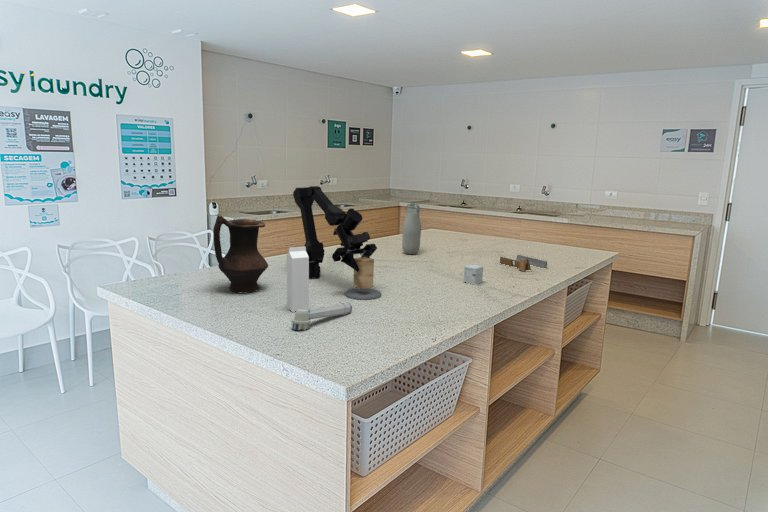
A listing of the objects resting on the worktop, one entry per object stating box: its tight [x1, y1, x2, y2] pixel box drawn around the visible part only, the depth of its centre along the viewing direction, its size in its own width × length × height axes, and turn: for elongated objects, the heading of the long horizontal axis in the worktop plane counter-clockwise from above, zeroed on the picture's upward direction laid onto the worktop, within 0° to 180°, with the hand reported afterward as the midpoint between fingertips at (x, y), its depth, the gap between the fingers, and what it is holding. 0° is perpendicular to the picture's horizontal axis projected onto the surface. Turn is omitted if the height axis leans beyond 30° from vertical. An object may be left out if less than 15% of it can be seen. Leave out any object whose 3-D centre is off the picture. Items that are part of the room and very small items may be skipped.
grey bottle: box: [401, 202, 422, 255], centre depth 280 cm, size 10×10×28 cm
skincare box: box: [463, 264, 484, 285], centre depth 222 cm, size 6×6×7 cm
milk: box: [285, 245, 310, 313], centre depth 176 cm, size 6×6×22 cm
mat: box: [344, 287, 382, 301], centre depth 198 cm, size 14×14×1 cm
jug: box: [212, 214, 269, 293], centre depth 197 cm, size 21×18×30 cm
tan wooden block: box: [353, 256, 375, 289], centre depth 197 cm, size 5×5×11 cm
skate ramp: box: [499, 253, 548, 272], centre depth 256 cm, size 29×35×8 cm
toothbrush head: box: [291, 301, 353, 331], centre depth 166 cm, size 5×7×25 cm
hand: (364, 270), depth 196 cm, fingers closed on tan wooden block, 5 cm apart
